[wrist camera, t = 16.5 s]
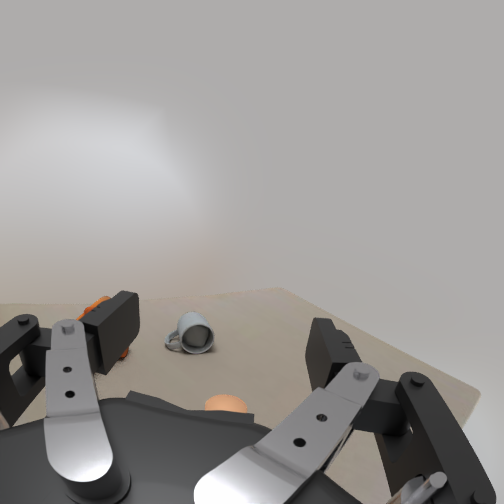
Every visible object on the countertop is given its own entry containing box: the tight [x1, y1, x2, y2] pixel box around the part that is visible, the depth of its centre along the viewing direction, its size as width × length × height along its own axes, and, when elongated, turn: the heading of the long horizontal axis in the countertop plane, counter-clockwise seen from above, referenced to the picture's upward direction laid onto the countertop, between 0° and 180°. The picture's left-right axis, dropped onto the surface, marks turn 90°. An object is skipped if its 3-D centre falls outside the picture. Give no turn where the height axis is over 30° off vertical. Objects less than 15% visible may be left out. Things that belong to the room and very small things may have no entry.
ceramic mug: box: [165, 312, 214, 354], centre depth 60 cm, size 11×8×8 cm
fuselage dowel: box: [205, 395, 247, 413], centre depth 28 cm, size 5×5×12 cm
